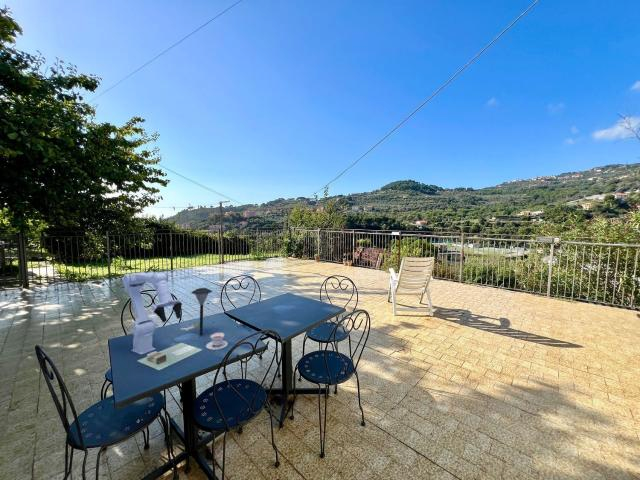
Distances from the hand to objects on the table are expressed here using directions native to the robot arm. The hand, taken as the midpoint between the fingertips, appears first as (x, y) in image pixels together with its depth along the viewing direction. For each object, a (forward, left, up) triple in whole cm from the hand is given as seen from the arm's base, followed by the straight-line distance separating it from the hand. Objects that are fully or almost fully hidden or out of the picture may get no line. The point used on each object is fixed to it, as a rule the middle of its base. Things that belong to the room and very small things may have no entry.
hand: (172, 319), depth 132 cm
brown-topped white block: (-9, -2, -22) cm, 24 cm away
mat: (-8, +6, -23) cm, 25 cm away
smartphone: (-34, +38, -24) cm, 56 cm away
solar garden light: (-17, +32, -23) cm, 43 cm away
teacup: (+3, +27, -23) cm, 36 cm away
